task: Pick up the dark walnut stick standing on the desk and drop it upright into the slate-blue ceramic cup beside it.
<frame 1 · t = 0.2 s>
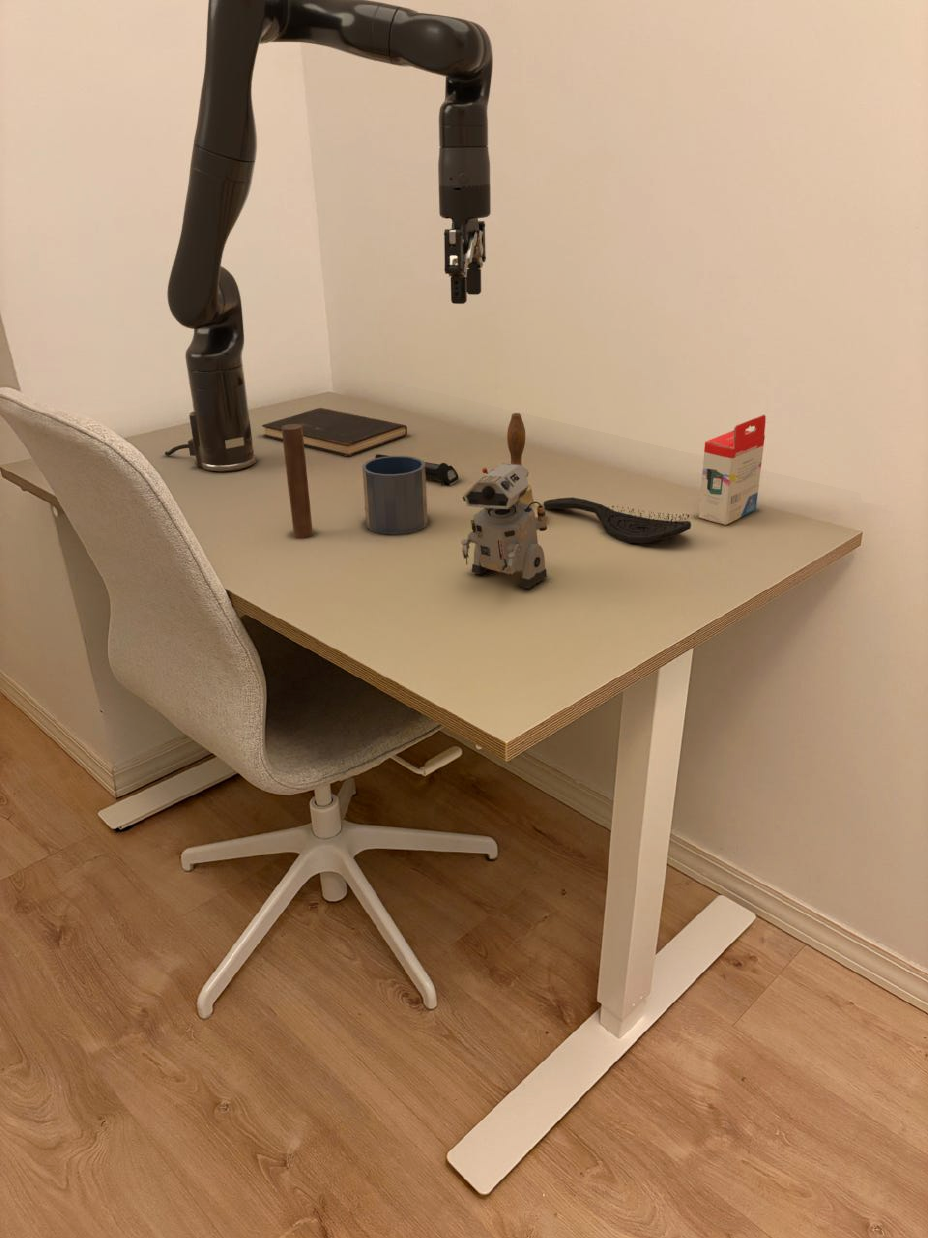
hand: (466, 298, 147), 29 cm above the table, tool pointing down, fingers open, 8 cm apart
hardcover book: (335, 437, 186), on the table
cup: (397, 523, 144), on the table
hand bell: (516, 521, 144), on the table
figurine: (500, 584, 124), on the table
electric trimmer: (416, 478, 163), on the table
hairbrush: (611, 526, 141), on the table
ink box: (727, 515, 144), on the table
stick: (303, 534, 141), on the table
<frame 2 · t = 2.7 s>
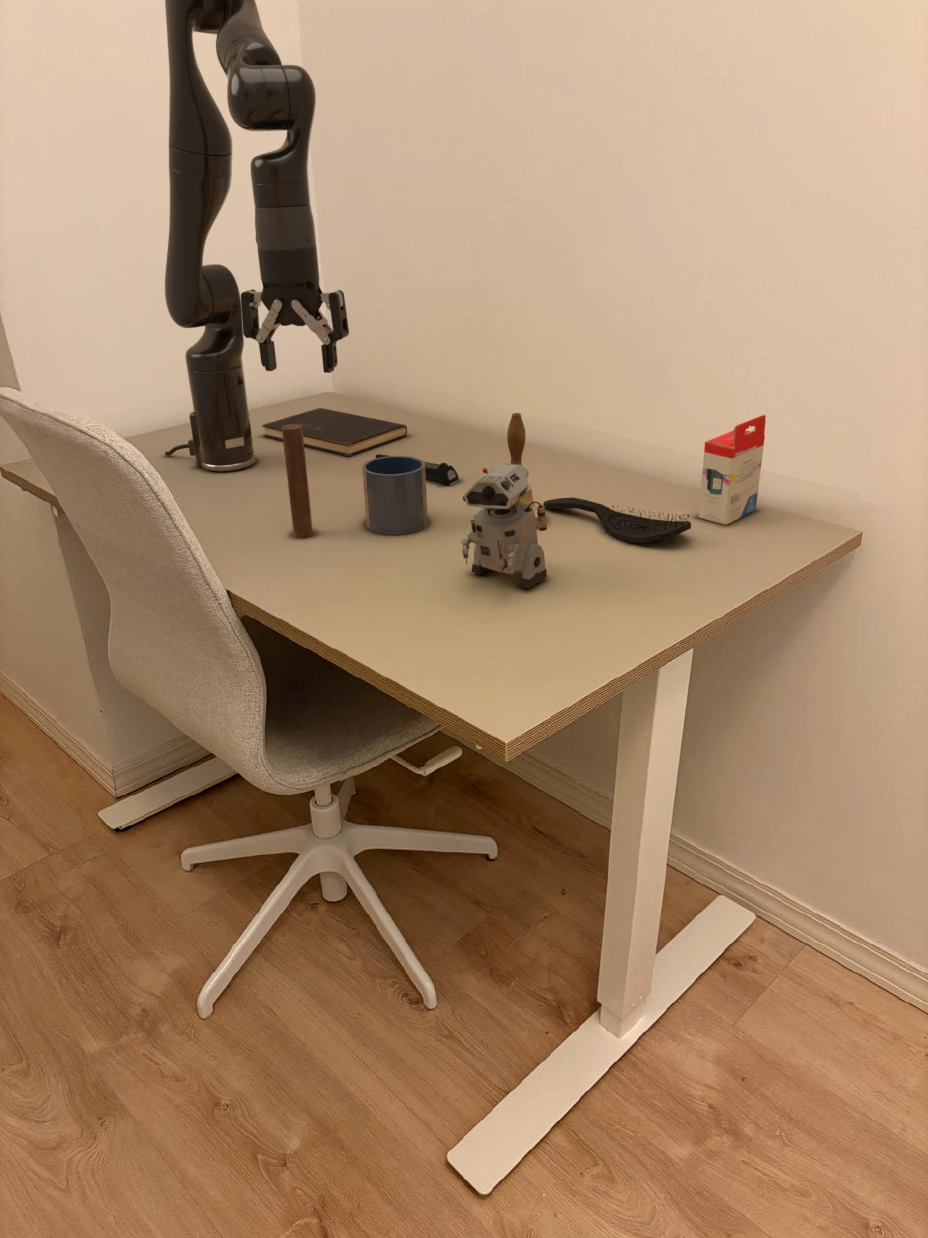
hand: (299, 370, 132), 23 cm above the table, tool pointing down, fingers open, 8 cm apart
nothing on the table moved.
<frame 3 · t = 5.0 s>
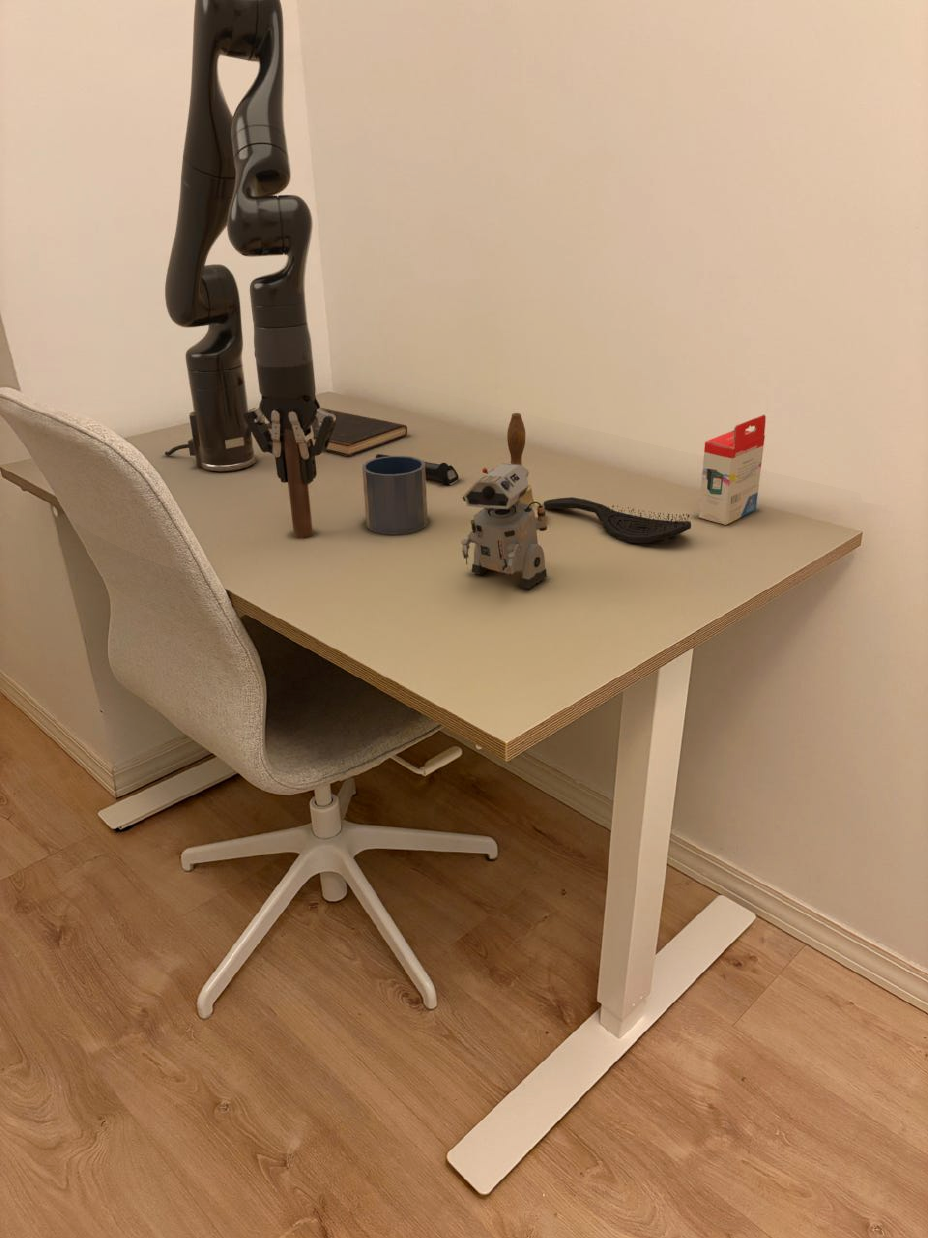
hand: (297, 481, 137), 8 cm above the table, tool pointing down, fingers closed on stick, 2 cm apart
stick: (303, 534, 141), on the table, touching gripper
everything else where it was.
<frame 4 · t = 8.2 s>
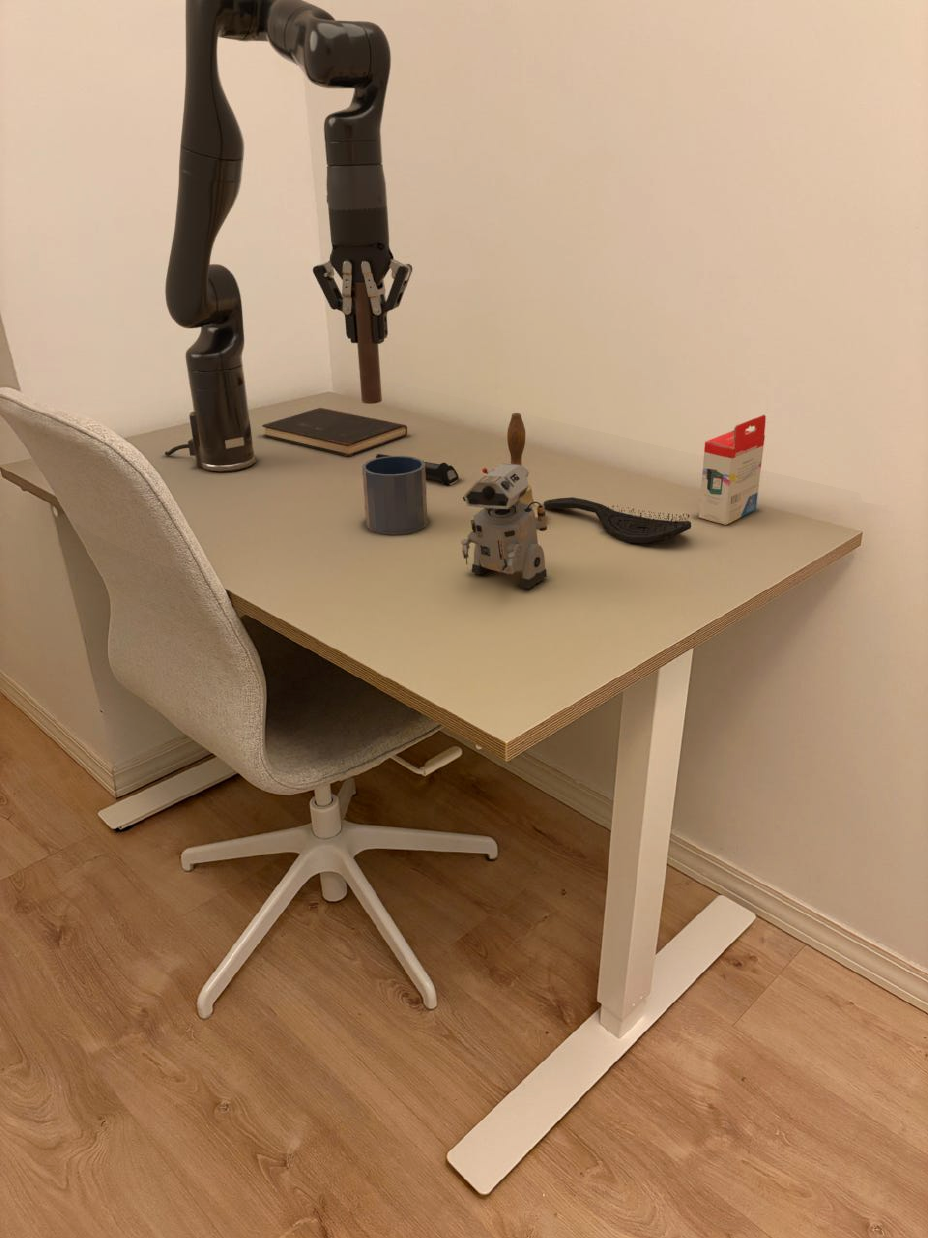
hand: (367, 341, 131), 27 cm above the table, tool pointing down, fingers closed on stick, 2 cm apart
stick: (371, 401, 135), point 19 cm above the table, touching gripper
everything else where it was.
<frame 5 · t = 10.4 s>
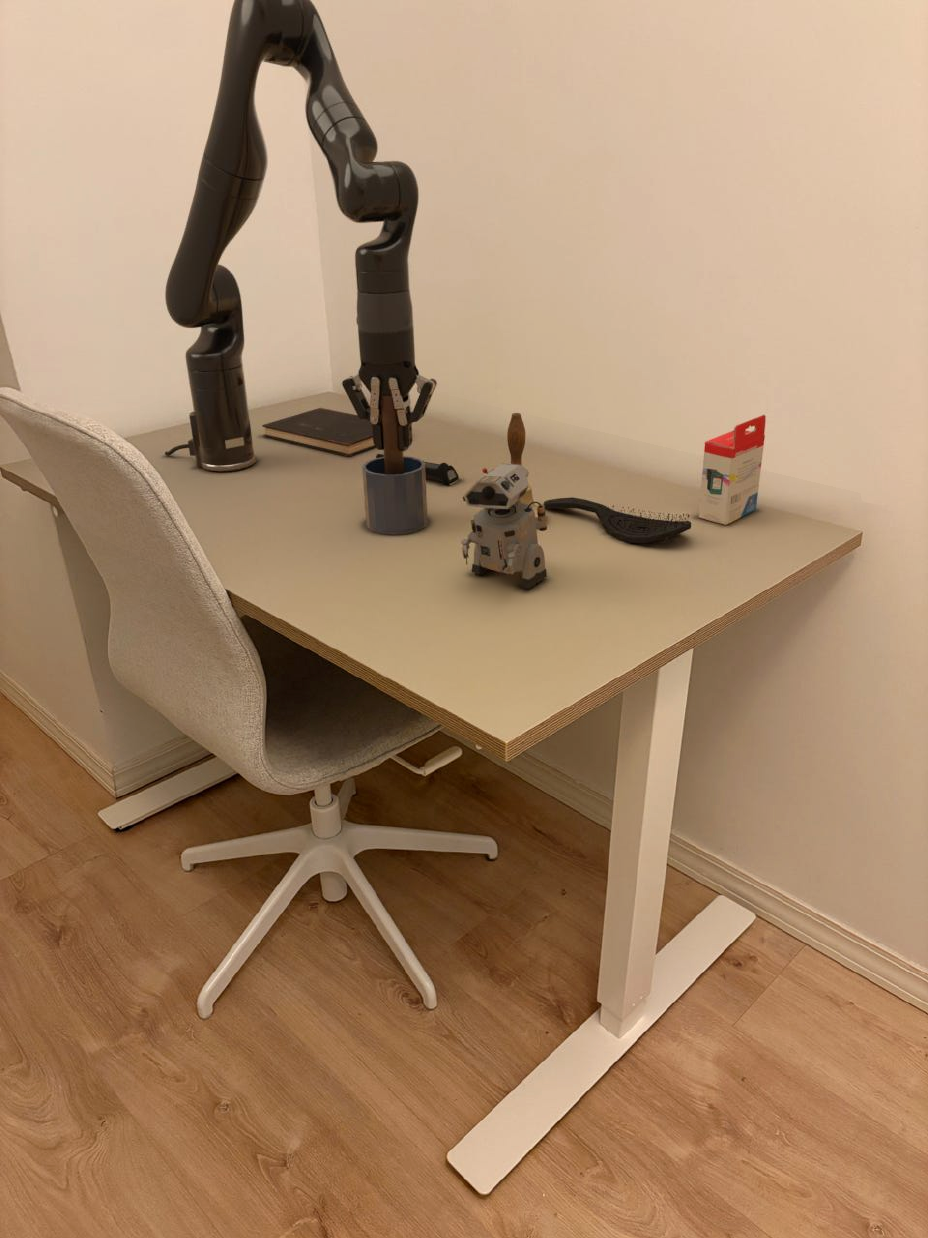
hand: (393, 448, 139), 12 cm above the table, tool pointing down, fingers closed on stick, 2 cm apart
stick: (396, 501, 142), point 3 cm above the table, touching gripper
everything else where it was.
when the fingers open (9 cm above the table, at t = 11.6 s): stick stays where it is, resting on cup.
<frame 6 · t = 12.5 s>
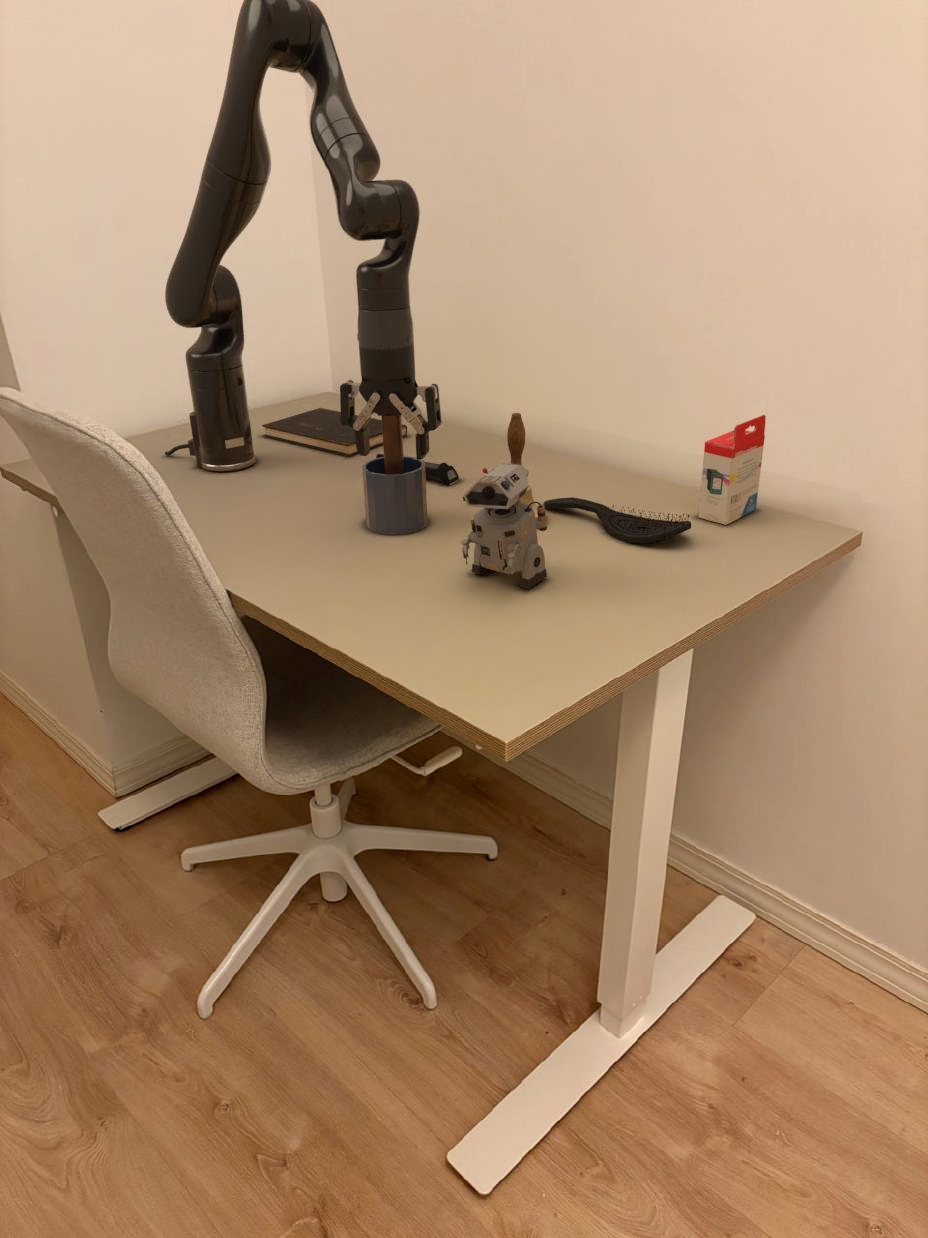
hand: (392, 456, 139), 10 cm above the table, tool pointing down, fingers open, 8 cm apart
stick: (397, 519, 144), point 1 cm above the table, touching cup
everything else where it was.
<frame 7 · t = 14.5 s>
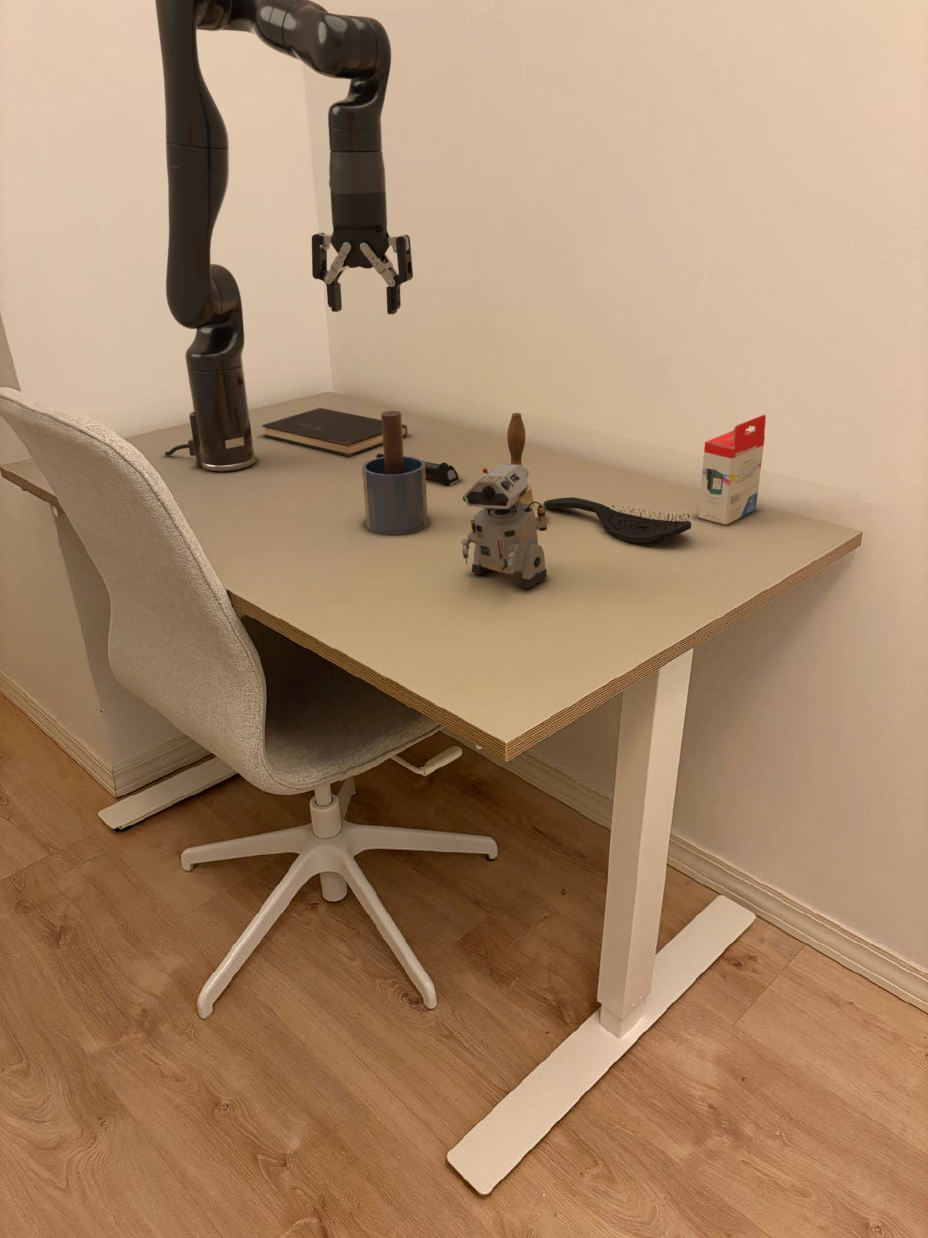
hand: (364, 312, 139), 29 cm above the table, tool pointing down, fingers open, 8 cm apart
nothing on the table moved.
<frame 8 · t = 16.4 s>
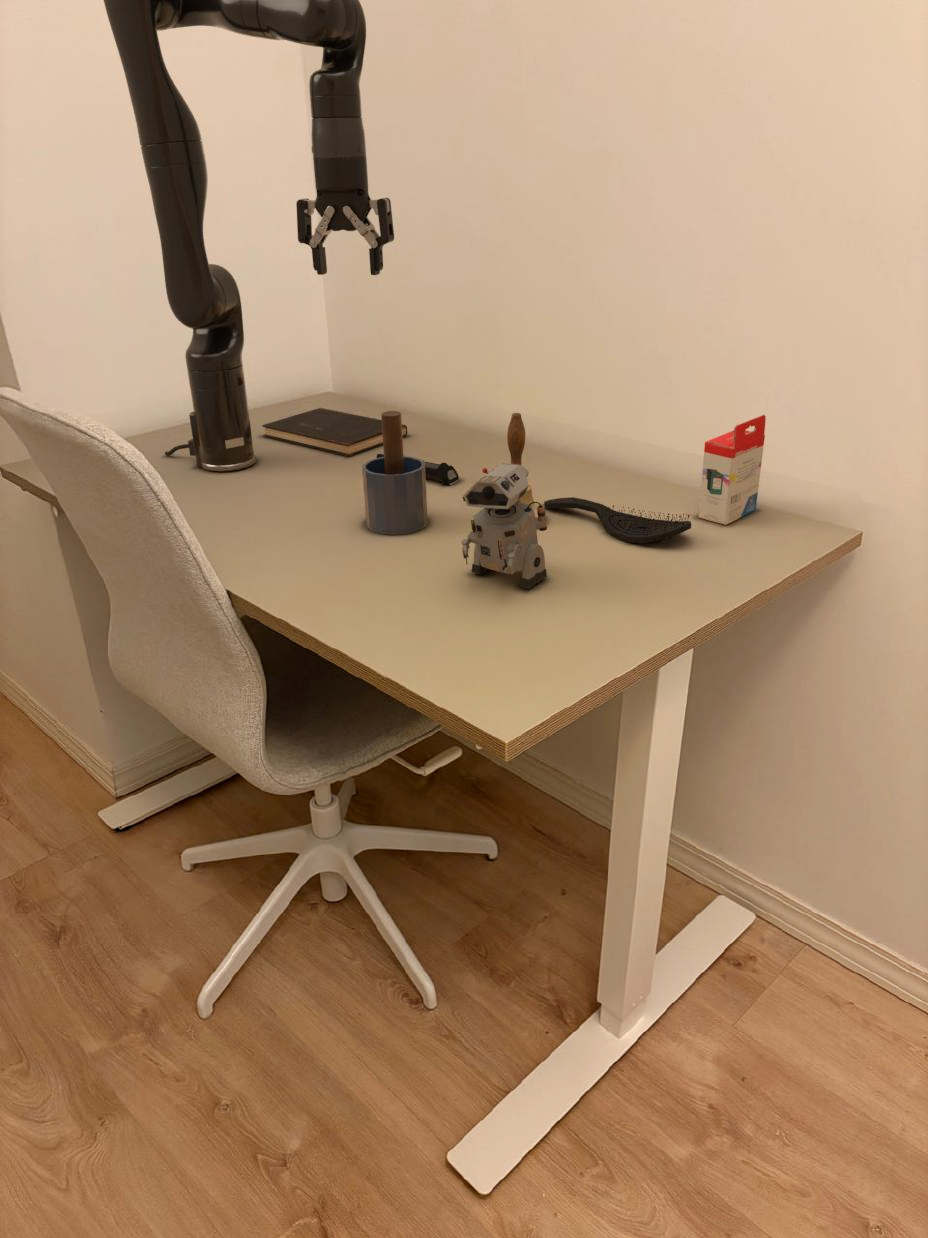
hand: (348, 274, 145), 33 cm above the table, tool pointing down, fingers open, 8 cm apart
nothing on the table moved.
at the end: stick inside the target area in the cup (0.1 cm from its centre), point 0.6 cm above the cup's base; stick tilted 0°; the gripper is holding nothing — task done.
